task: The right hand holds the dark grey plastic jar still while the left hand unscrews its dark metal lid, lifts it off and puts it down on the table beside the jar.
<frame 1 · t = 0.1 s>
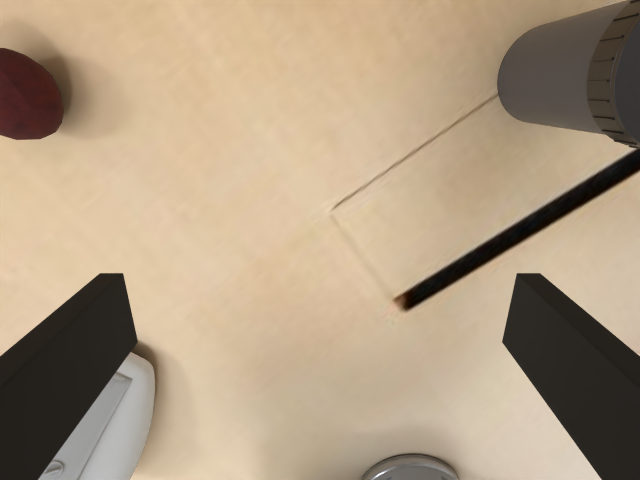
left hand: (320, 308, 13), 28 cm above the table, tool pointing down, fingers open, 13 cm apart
projector: (99, 402, 51), on the table
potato: (42, 96, 37), on the table
jar: (543, 75, 36), on the table
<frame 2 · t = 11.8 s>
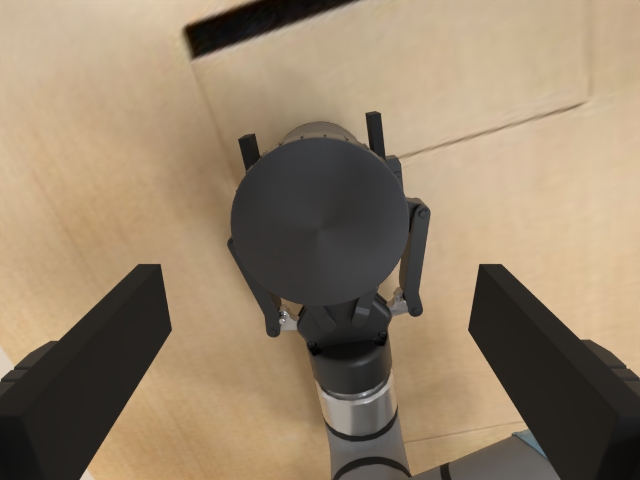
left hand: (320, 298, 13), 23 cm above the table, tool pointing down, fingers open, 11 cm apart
right hand: (309, 125, 28), fingers closed on jar, 9 cm apart
lid: (320, 227, 20), point 16 cm above the table, screwed on, not yet turned
jar: (320, 170, 35), on the table, touching right hand
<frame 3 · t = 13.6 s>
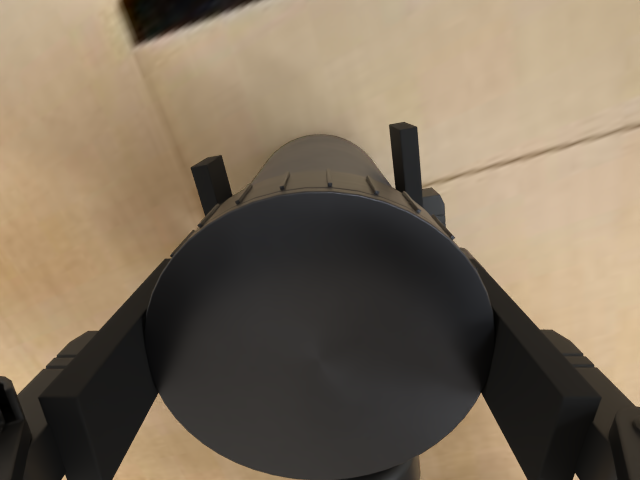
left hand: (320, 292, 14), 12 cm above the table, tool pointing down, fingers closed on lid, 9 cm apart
lid: (319, 352, 11), point 16 cm above the table, screwed on, not yet turned, touching left hand
jar: (319, 200, 25), on the table, touching right hand
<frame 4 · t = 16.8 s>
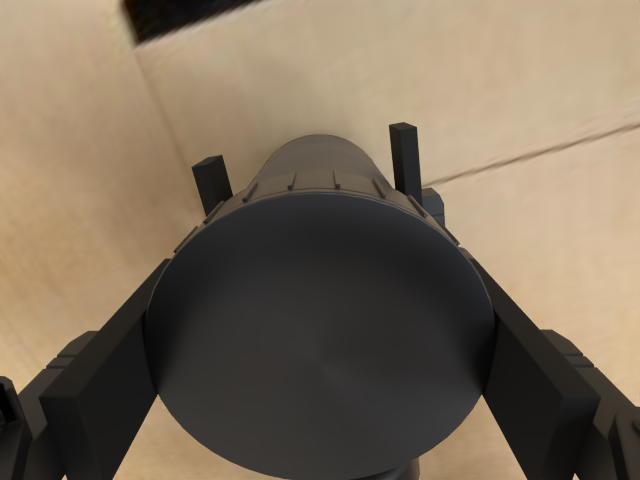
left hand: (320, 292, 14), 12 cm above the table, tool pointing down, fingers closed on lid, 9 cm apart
lid: (320, 353, 11), point 16 cm above the table, turned 95° so far, risen 0.1 cm, still on its thread, touching left hand
jar: (319, 200, 25), on the table, touching right hand
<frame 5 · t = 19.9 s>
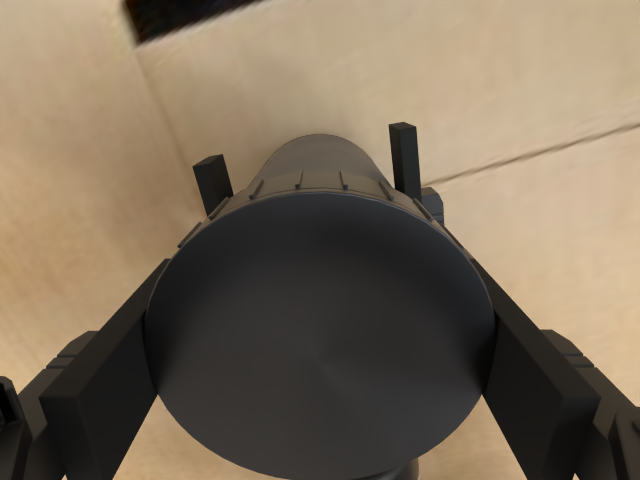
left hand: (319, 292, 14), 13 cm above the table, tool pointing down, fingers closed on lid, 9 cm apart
lid: (320, 353, 11), point 16 cm above the table, turned 190° so far, risen 0.3 cm, still on its thread, touching left hand
jar: (319, 199, 26), on the table, touching right hand
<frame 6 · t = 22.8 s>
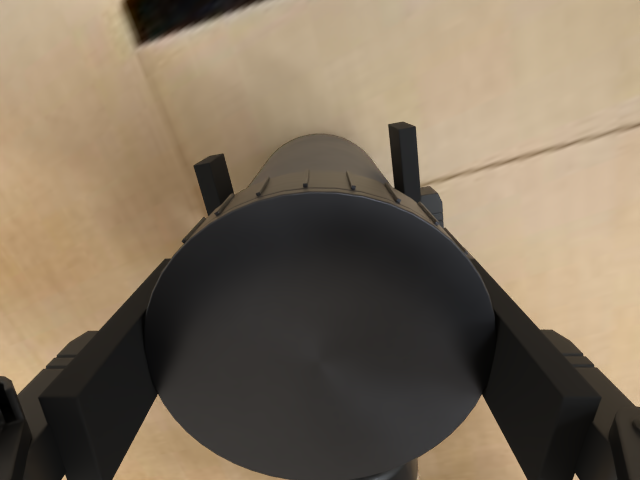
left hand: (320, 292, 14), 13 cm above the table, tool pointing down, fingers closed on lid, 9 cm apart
lid: (320, 353, 11), point 16 cm above the table, turned 284° so far, risen 0.4 cm, still on its thread, touching left hand
jar: (319, 199, 26), on the table, touching right hand
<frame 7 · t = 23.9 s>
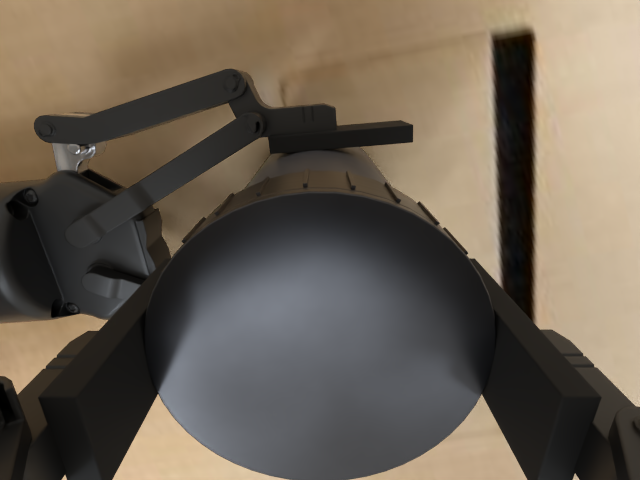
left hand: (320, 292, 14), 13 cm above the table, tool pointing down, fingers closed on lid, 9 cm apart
right hand: (405, 222, 20), fingers closed on jar, 9 cm apart
lid: (320, 353, 11), point 16 cm above the table, off its thread, touching left hand
jar: (318, 197, 26), on the table, touching right hand
when the left hand's fingers open (0 cm above the table, at t = 29.4 s): lid drops 2 cm, point 2 cm above the table.
when the right hand's fingers open (6 cm above the table, at t = 30.5 s): jar stays where it is, on the table.
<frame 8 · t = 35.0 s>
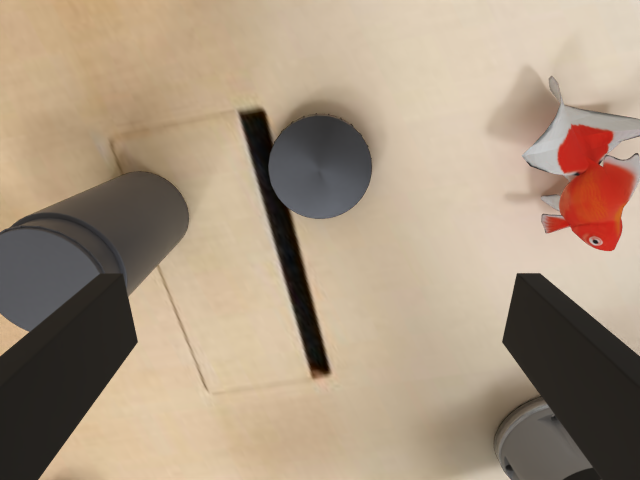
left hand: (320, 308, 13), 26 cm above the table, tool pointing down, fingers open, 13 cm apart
lid: (320, 169, 35), point 2 cm above the table, off its thread
fish: (551, 157, 37), on the table
jar: (146, 213, 39), on the table
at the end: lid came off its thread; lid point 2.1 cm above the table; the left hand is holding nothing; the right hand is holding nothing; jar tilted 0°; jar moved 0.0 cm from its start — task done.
